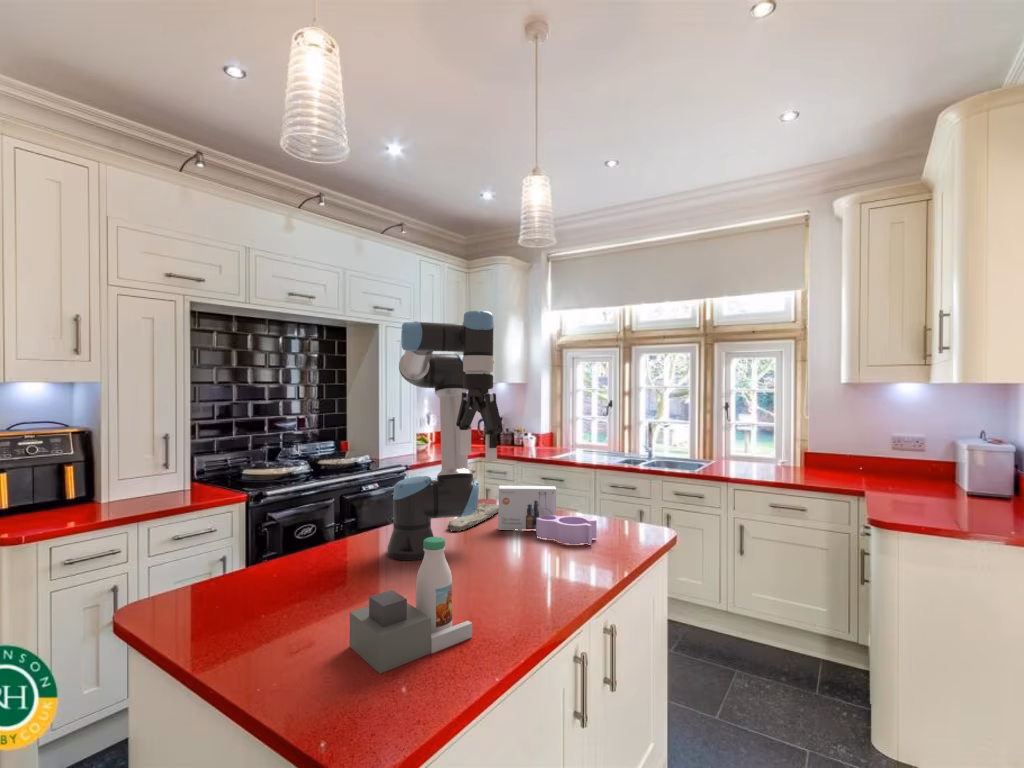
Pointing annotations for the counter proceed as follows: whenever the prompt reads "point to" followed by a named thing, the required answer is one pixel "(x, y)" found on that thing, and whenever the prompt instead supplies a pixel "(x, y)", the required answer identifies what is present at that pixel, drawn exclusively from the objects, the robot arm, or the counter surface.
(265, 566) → the counter surface
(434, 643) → the stacked grey blocks
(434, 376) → the robot arm
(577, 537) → the clip
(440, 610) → the milk bottle
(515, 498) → the skincare box
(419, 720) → the counter surface
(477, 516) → the long grey stone
